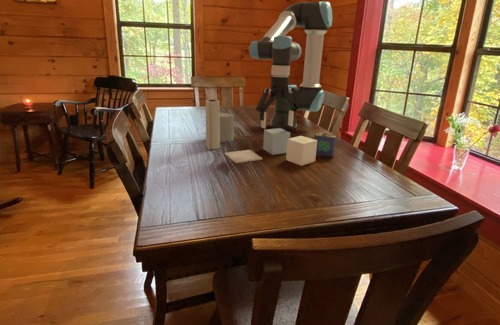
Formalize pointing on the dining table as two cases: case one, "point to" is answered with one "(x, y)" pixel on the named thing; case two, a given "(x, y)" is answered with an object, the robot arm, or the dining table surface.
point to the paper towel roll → (212, 124)
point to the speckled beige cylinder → (226, 127)
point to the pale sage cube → (276, 141)
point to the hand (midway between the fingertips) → (277, 126)
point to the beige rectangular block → (301, 150)
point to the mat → (243, 156)
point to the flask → (325, 145)
